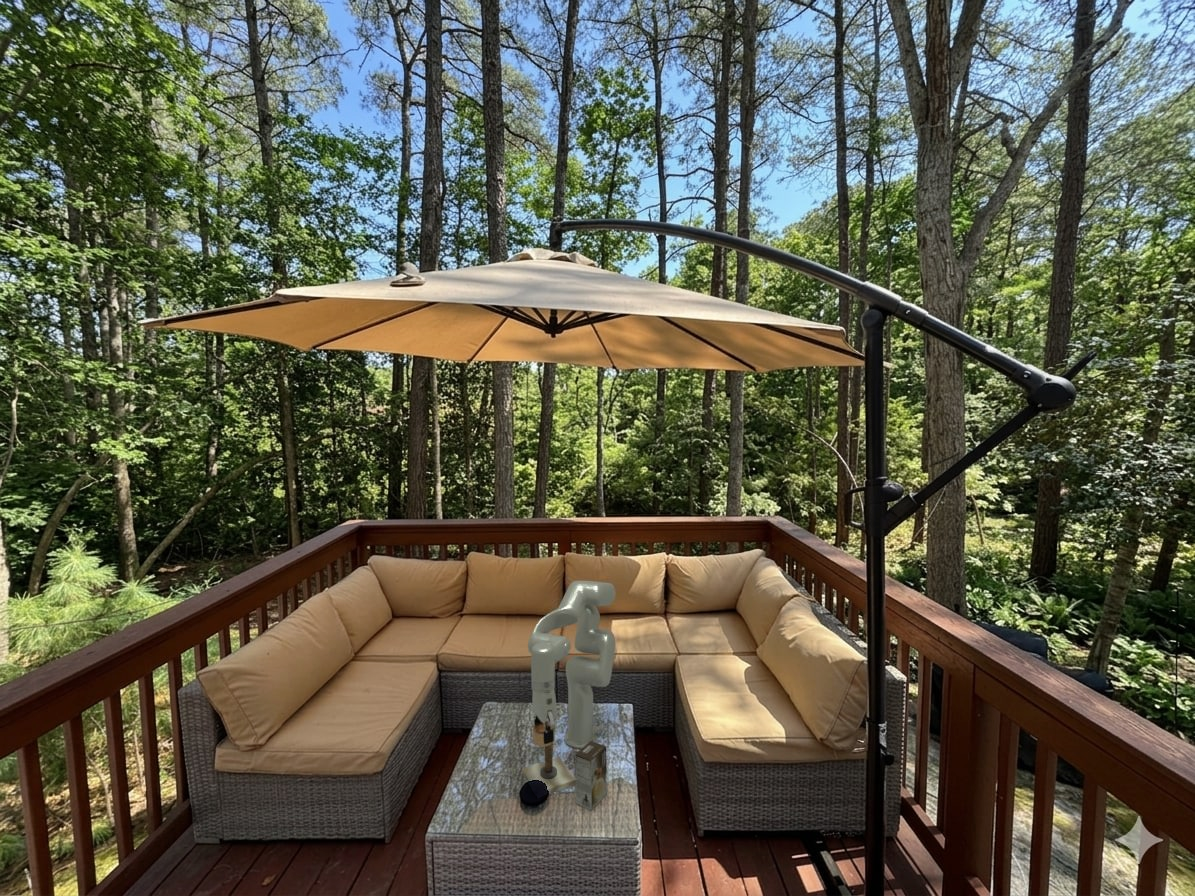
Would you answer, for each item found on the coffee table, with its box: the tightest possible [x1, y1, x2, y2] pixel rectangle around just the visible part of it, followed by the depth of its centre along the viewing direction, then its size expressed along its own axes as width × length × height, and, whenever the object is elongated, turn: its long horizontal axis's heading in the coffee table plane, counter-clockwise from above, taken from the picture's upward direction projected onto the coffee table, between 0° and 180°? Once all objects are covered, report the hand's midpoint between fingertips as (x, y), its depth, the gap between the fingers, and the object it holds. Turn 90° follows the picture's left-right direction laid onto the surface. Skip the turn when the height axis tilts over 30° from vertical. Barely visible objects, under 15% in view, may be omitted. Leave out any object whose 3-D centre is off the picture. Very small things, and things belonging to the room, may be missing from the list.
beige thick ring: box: [532, 722, 556, 747], centre depth 168 cm, size 7×7×4 cm
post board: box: [521, 743, 576, 795], centre depth 176 cm, size 14×14×13 cm
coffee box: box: [575, 741, 608, 811], centre depth 166 cm, size 9×6×16 cm
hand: (543, 735), depth 169 cm, fingers closed on beige thick ring, 7 cm apart
